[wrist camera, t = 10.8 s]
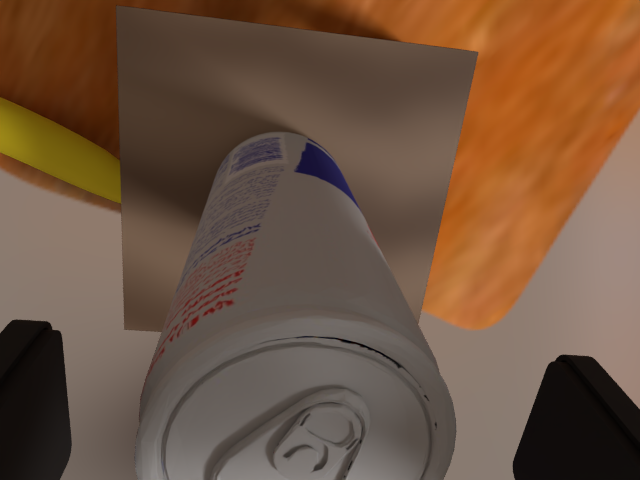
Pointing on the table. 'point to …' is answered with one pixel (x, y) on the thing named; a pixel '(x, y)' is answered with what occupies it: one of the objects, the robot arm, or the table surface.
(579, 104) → the table surface
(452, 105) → the stool
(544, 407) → the robot arm
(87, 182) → the banana
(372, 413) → the beverage can
